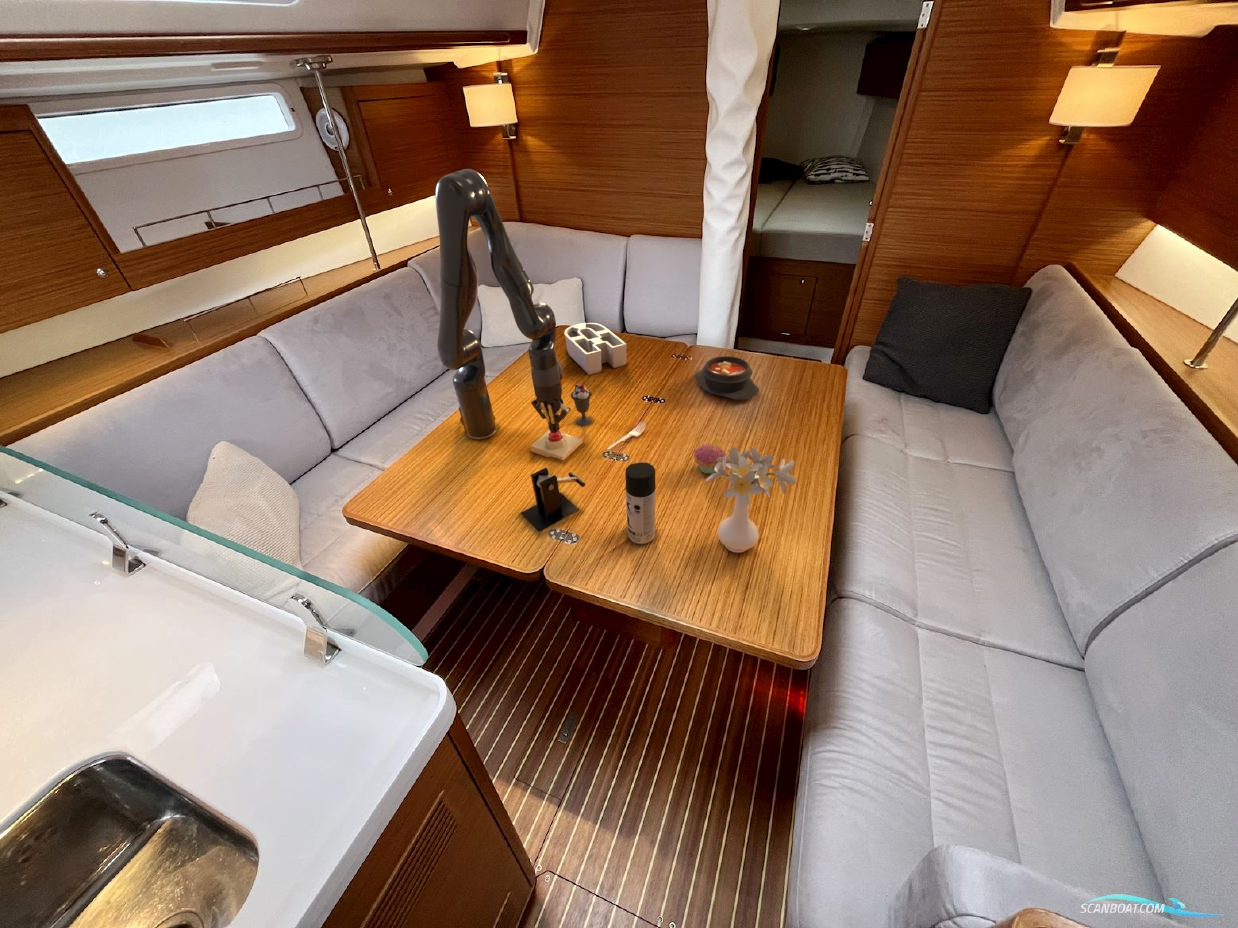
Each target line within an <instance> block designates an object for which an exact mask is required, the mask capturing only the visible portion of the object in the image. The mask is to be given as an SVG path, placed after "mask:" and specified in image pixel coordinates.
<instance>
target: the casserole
mask: <svg viewBox="0 0 1238 928" xmlns="http://www.w3.org/2000/svg"><path fill="white" fill-rule="evenodd" d="M750 365H751V364H749V362H748V361H746V360H745V359H743V358H741V357H738V356H737V357H736V356H729V355H727V356H726V355H722V356H715V357H712V358H711V359H708V360H707V361H706V363H705V364H704V366H703V367H702V369H700V370H698V371H697V372H696V373H695V374H694V378H695V380H697V382H698V384H699V387H700V388H701V389H702V390H703V391H705V392H707V393H708V394H712V395H714V396H715V395H716V396H721V397H725V398H728V399H731V400H733V401H734V400H735V401H738V400H739V401H740V400H741V401H742V400H747V399H750V398H753V397H754V396H756V395H757V394H759V392H760V388H759V387H758V386H757V385H756V384H755V382H754V381H753V380H752V378H751V377H752V376H753V370H752V368H751V366H750Z"/></svg>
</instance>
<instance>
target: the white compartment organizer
mask: <svg viewBox="0 0 1238 928" xmlns="http://www.w3.org/2000/svg"><path fill="white" fill-rule="evenodd" d="M564 338H565V344H566V351H567V353H568V355H569V357H571V359H572V360H574V362H576V364H578V366H579V367H580V368H582V370H583V371H585V373H586V374H587V375H593V374H598V373H601V372H602V369H603V368H602V367H603V366H602V364H606V363H608V365H610V366H611V367H612V368H614V369H615V368H619V367H624V366H626V365H627V343H626V342H625V341H624V340H622V339H621V338H620V337H618V336H617V335H616V334H614V333H613V331H611V330H610V329H608V328H607V327H605V326H604V325H603V324H600V323H596V322H582V323H576V324H573V325H571V326H568V327H567V328H566V329H565V330H564Z"/></svg>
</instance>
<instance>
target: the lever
mask: <svg viewBox="0 0 1238 928" xmlns="http://www.w3.org/2000/svg"><path fill="white" fill-rule="evenodd" d="M550 477H551V476H550V474H549V475H539V477H538V480H537V485H538V486H539V487H540V485H539V483H540V482H542V481H544V480H546V479H548V478H550ZM557 481H558V484H570V483H577V484H578V485H579V486H580V487H581V488H585V486H586V482H584V481H583V480H582V479H581V478H580V477H578V476H577V475H576V474H574V473H573V472H572V471H570V472H568V476H566V477H565V476H564V477H557Z"/></svg>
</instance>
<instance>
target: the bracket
mask: <svg viewBox="0 0 1238 928" xmlns="http://www.w3.org/2000/svg"><path fill="white" fill-rule="evenodd" d="M539 475H549V476H550V473H549V469H548V468H547V467H544V468H542V469H540V470H538V471H535V472H534V473H531V474H530V480H531V484H532V489H533V494H534V499H535V504H534V505H533V506H531V507H529V508H527V509H525V510H523V511H521V512H520V514H521V516H522V517H524V518H525V520H526V521H528V522H529V524H530V525H531V526H532V527H533V528H534V529H535V530H536V531H537V532H538V533H541V532H542V531H543V532H544V530H546V529H548V528H550V527H552V526H554V525H555V524H557V523H558V522H561V521H563V520H564V519H566V518H568V517H570V516H572V515H573V514H575V513H577V512H579V511H580V509H579V507H577V506H576V505H575V504H574V503H573V502H572V501H570V500H569V498H567V497H566V496H565V495H564V494H563V493H562V492H560V490H559V489H560V488H559V483H558V481H557V478H558V476H556V475H552V476H550V478H548V479H546V480H544V481H542V482H540V483H539V485H540V487H539V486H538V485H537V480H538V477H539Z"/></svg>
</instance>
